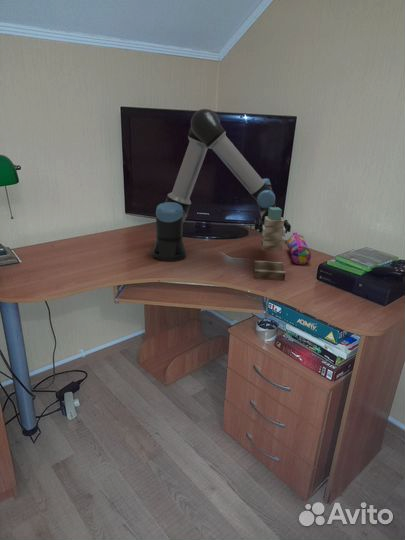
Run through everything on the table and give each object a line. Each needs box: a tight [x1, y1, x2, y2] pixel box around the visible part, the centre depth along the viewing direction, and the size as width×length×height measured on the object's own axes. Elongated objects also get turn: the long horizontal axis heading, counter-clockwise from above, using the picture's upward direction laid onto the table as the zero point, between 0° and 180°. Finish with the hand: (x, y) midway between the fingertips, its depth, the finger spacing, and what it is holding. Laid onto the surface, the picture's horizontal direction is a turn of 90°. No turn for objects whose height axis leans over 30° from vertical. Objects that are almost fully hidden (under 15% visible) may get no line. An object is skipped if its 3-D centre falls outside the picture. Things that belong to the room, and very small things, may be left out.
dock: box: [253, 260, 286, 281], centre depth 159 cm, size 12×12×3 cm
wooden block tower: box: [260, 216, 285, 252], centre depth 153 cm, size 8×7×12 cm
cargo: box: [268, 206, 283, 220], centre depth 151 cm, size 4×4×4 cm
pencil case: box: [284, 232, 312, 266], centre depth 179 cm, size 22×9×9 cm, turn 176°
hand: (274, 233), depth 148 cm, fingers closed on wooden block tower, 7 cm apart
